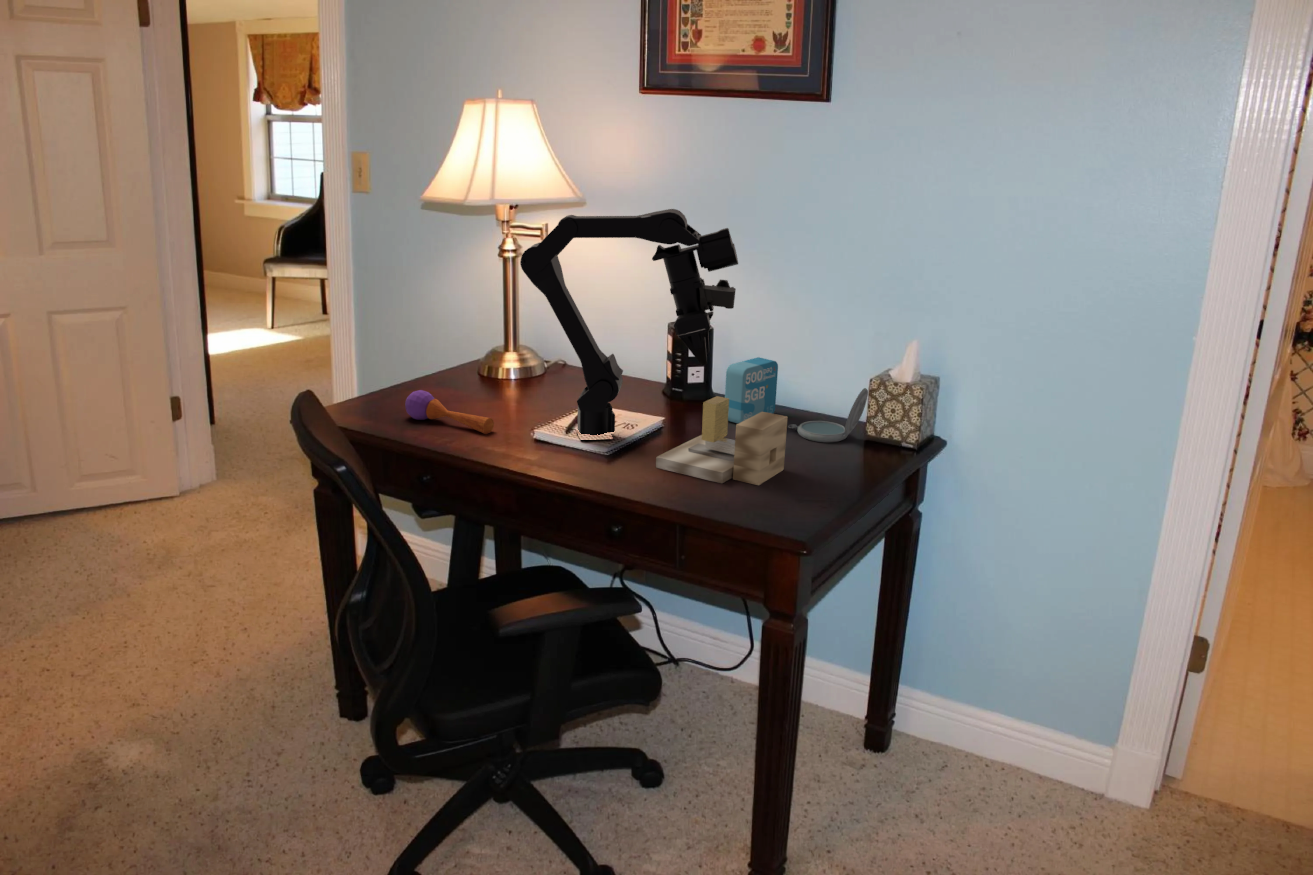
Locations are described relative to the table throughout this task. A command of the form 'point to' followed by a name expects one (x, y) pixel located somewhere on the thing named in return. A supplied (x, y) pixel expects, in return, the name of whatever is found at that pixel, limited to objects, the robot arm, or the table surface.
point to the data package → (751, 388)
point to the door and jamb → (751, 461)
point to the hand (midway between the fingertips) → (705, 358)
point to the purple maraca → (443, 412)
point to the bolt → (716, 425)
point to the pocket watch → (833, 424)
